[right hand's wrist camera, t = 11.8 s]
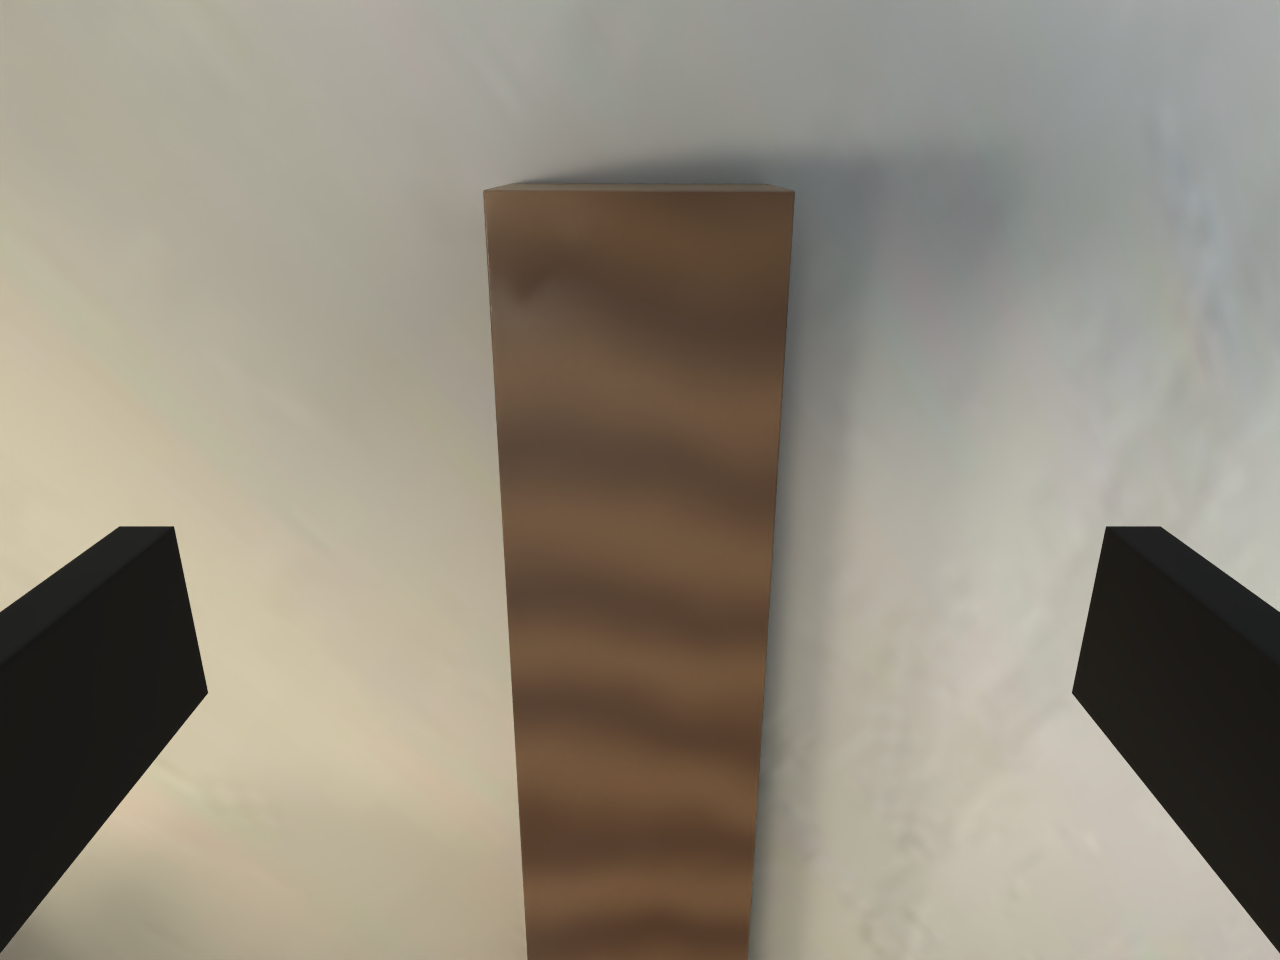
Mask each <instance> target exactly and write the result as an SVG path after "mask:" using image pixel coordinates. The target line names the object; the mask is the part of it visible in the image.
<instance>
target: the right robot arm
mask: <svg viewBox="0 0 1280 960" xmlns="http://www.w3.org/2000/svg"><path fill="white" fill-rule="evenodd" d="M207 694H208V690H207V685H206V680H205V676H204V671H203V666H202V661H201V656H200V651H199V646H198V641H197V637H196V632H195V627H194V622H193V617H192V612H191V607H190V602H189V598H188V593H187V588H186V583H185V578H184V573H183V568H182V563H181V559H180V554H179V549H178V544H177V539H176V534H175V529H174V527H118V528H117V529H115V530H114V531H113V532H111V533H110V534H108V535H107V536H106V537H104V538H103V539H101V540H100V541H99V542H97V543H96V544H95V545H93V546H92V547H90V548H89V549H88V550H86V551H85V552H83V553H82V554H81V555H79V556H78V557H76V558H75V559H74V560H72V561H71V562H69V563H68V564H67V565H65V566H64V567H63V568H61V569H60V570H58V571H57V572H56V573H54V574H53V575H51V576H50V577H49V578H47V579H46V580H44V581H43V582H42V583H40V584H39V585H37V586H36V587H35V588H33V589H32V590H31V591H29V592H28V593H26V594H25V595H24V596H22V597H21V598H19V599H18V600H17V601H15V602H14V603H12V604H11V605H10V606H8V607H7V608H5V609H4V610H3V611H1V612H0V953H1V952H2V950H3V949H4V948H5V947H6V945H7V944H8V943H9V941H10V940H11V939H12V938H13V936H14V935H15V934H16V933H17V931H18V930H19V929H20V928H21V926H22V925H23V924H24V923H25V921H26V920H27V919H28V918H29V916H30V915H31V914H32V913H33V911H34V910H35V909H36V908H37V906H38V905H39V904H40V903H41V901H42V900H43V899H44V898H45V896H46V895H47V894H48V893H49V891H50V890H51V889H52V888H53V886H54V885H55V884H56V883H57V881H58V880H59V879H60V878H61V876H62V875H63V874H64V873H65V871H66V870H67V869H68V868H69V866H70V865H71V864H72V863H73V861H74V860H75V859H76V858H77V856H78V855H79V854H80V853H81V851H82V850H83V849H84V848H85V846H86V845H87V844H88V843H89V841H90V840H91V839H92V838H93V836H94V835H95V834H96V833H97V831H98V830H99V829H100V828H101V826H102V825H103V824H104V823H105V821H106V820H107V819H108V818H109V816H110V815H111V814H112V813H113V811H114V810H115V809H116V808H117V806H118V805H119V804H120V803H121V801H122V800H123V799H124V798H125V796H126V795H127V794H128V793H129V791H130V790H131V789H132V788H133V786H134V785H135V784H136V783H137V781H138V780H139V779H140V778H141V776H142V775H143V774H144V773H145V771H146V770H147V769H148V768H149V766H150V765H151V764H152V763H153V761H154V760H155V759H156V757H157V756H158V755H159V754H160V752H161V751H162V750H163V749H164V747H165V746H166V745H167V744H168V742H169V741H170V740H171V739H172V737H173V736H174V735H175V734H176V732H177V731H178V730H179V729H180V727H181V726H182V725H183V724H184V722H185V721H186V720H187V719H188V717H189V716H190V715H191V714H192V712H193V711H194V710H195V709H196V707H197V706H198V705H199V704H200V702H201V701H202V700H203V699H204V697H205V696H206V695H207ZM1072 694H1073V695H1074V696H1075V697H1076V699H1077V700H1078V701H1079V702H1080V704H1081V705H1082V706H1083V707H1084V709H1085V710H1086V711H1087V712H1088V714H1089V715H1090V716H1091V717H1092V719H1093V720H1094V721H1095V722H1096V724H1097V725H1098V726H1099V727H1100V729H1101V730H1102V731H1103V732H1104V734H1105V735H1106V736H1107V737H1108V739H1109V740H1110V741H1111V742H1112V744H1113V745H1114V746H1115V747H1116V749H1117V750H1118V751H1119V752H1120V754H1121V755H1122V756H1123V758H1124V759H1125V760H1126V761H1127V763H1128V764H1129V765H1130V766H1131V768H1132V769H1133V770H1134V771H1135V773H1136V774H1137V775H1138V776H1139V778H1140V779H1141V780H1142V781H1143V783H1144V784H1145V785H1146V786H1147V788H1148V789H1149V790H1150V791H1151V793H1152V794H1153V795H1154V796H1155V798H1156V799H1157V800H1158V801H1159V803H1160V804H1161V805H1162V806H1163V808H1164V809H1165V810H1166V811H1167V813H1168V814H1169V815H1170V816H1171V818H1172V819H1173V820H1174V821H1175V823H1176V824H1177V825H1178V826H1179V828H1180V829H1181V830H1182V831H1183V833H1184V834H1185V835H1186V836H1187V838H1188V839H1189V840H1190V841H1191V843H1192V844H1193V845H1194V846H1195V848H1196V849H1197V850H1198V851H1199V853H1200V854H1201V855H1202V856H1203V858H1204V859H1205V860H1206V861H1207V863H1208V864H1209V865H1210V866H1211V868H1212V869H1213V870H1214V871H1215V873H1216V874H1217V875H1218V876H1219V878H1220V879H1221V880H1222V881H1223V883H1224V884H1225V885H1226V886H1227V888H1228V889H1229V890H1230V891H1231V893H1232V894H1233V895H1234V896H1235V898H1236V899H1237V900H1238V901H1239V903H1240V904H1241V905H1242V906H1243V908H1244V909H1245V910H1246V911H1247V913H1248V914H1249V915H1250V916H1251V918H1252V919H1253V920H1254V921H1255V923H1256V924H1257V925H1258V926H1259V928H1260V929H1261V930H1262V931H1263V933H1264V934H1265V935H1266V936H1267V938H1268V939H1269V940H1270V941H1271V943H1272V944H1273V945H1274V947H1275V948H1276V949H1277V950H1278V952H1279V953H1280V612H1279V611H1277V610H1276V609H1275V608H1273V607H1272V606H1270V605H1269V604H1268V603H1266V602H1265V601H1263V600H1262V599H1261V598H1259V597H1258V596H1256V595H1255V594H1254V593H1252V592H1251V591H1249V590H1248V589H1247V588H1245V587H1244V586H1243V585H1241V584H1240V583H1238V582H1237V581H1236V580H1234V579H1233V578H1231V577H1230V576H1229V575H1227V574H1226V573H1224V572H1223V571H1222V570H1220V569H1219V568H1217V567H1216V566H1215V565H1213V564H1212V563H1211V562H1209V561H1208V560H1206V559H1205V558H1204V557H1202V556H1201V555H1199V554H1198V553H1197V552H1195V551H1194V550H1192V549H1191V548H1190V547H1188V546H1187V545H1185V544H1184V543H1183V542H1181V541H1180V540H1179V539H1177V538H1176V537H1174V536H1173V535H1172V534H1170V533H1169V532H1167V531H1166V530H1165V529H1163V528H1162V527H1106V529H1105V534H1104V539H1103V544H1102V549H1101V554H1100V559H1099V563H1098V568H1097V573H1096V578H1095V583H1094V588H1093V593H1092V598H1091V602H1090V607H1089V612H1088V617H1087V622H1086V627H1085V632H1084V637H1083V641H1082V646H1081V651H1080V656H1079V661H1078V666H1077V671H1076V676H1075V680H1074V685H1073V690H1072Z"/></svg>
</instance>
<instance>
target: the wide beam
mask: <svg viewBox="0 0 1280 960" xmlns="http://www.w3.org/2000/svg"><path fill="white" fill-rule="evenodd" d="M483 194H484V212H485V229H486V246H487V264H488V281H489V298H490V316H491V333H492V350H493V368H494V385H495V402H496V420H497V437H498V454H499V472H500V489H501V506H502V524H503V541H504V558H505V576H506V593H507V610H508V628H509V645H510V663H511V680H512V697H513V715H514V732H515V749H516V767H517V784H518V801H519V819H520V836H521V853H522V871H523V888H524V905H525V923H526V940H527V957H528V960H748V947H749V930H750V914H751V898H752V881H753V865H754V849H755V833H756V816H757V800H758V784H759V767H760V751H761V735H762V719H763V702H764V686H765V670H766V653H767V637H768V621H769V604H770V588H771V572H772V556H773V539H774V523H775V507H776V490H777V474H778V458H779V441H780V425H781V409H782V393H783V376H784V360H785V344H786V327H787V311H788V295H789V278H790V262H791V246H792V230H793V213H794V197H795V192H794V191H792V190H788V189H784V188H780V187H776V186H772V185H768V184H536V183H513V184H508V185H504V186H500V187H495V188H491V189H487V190H484V192H483Z"/></svg>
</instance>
